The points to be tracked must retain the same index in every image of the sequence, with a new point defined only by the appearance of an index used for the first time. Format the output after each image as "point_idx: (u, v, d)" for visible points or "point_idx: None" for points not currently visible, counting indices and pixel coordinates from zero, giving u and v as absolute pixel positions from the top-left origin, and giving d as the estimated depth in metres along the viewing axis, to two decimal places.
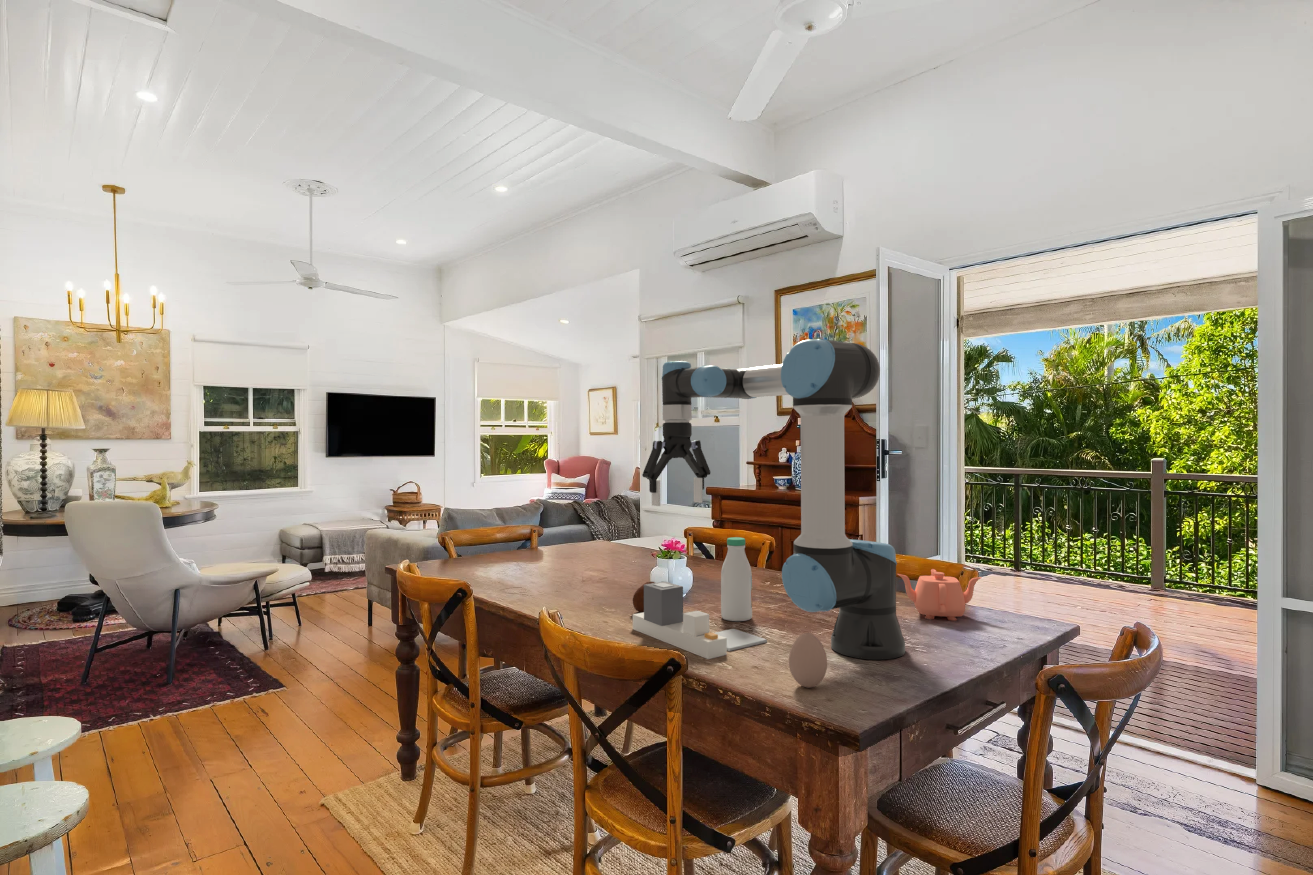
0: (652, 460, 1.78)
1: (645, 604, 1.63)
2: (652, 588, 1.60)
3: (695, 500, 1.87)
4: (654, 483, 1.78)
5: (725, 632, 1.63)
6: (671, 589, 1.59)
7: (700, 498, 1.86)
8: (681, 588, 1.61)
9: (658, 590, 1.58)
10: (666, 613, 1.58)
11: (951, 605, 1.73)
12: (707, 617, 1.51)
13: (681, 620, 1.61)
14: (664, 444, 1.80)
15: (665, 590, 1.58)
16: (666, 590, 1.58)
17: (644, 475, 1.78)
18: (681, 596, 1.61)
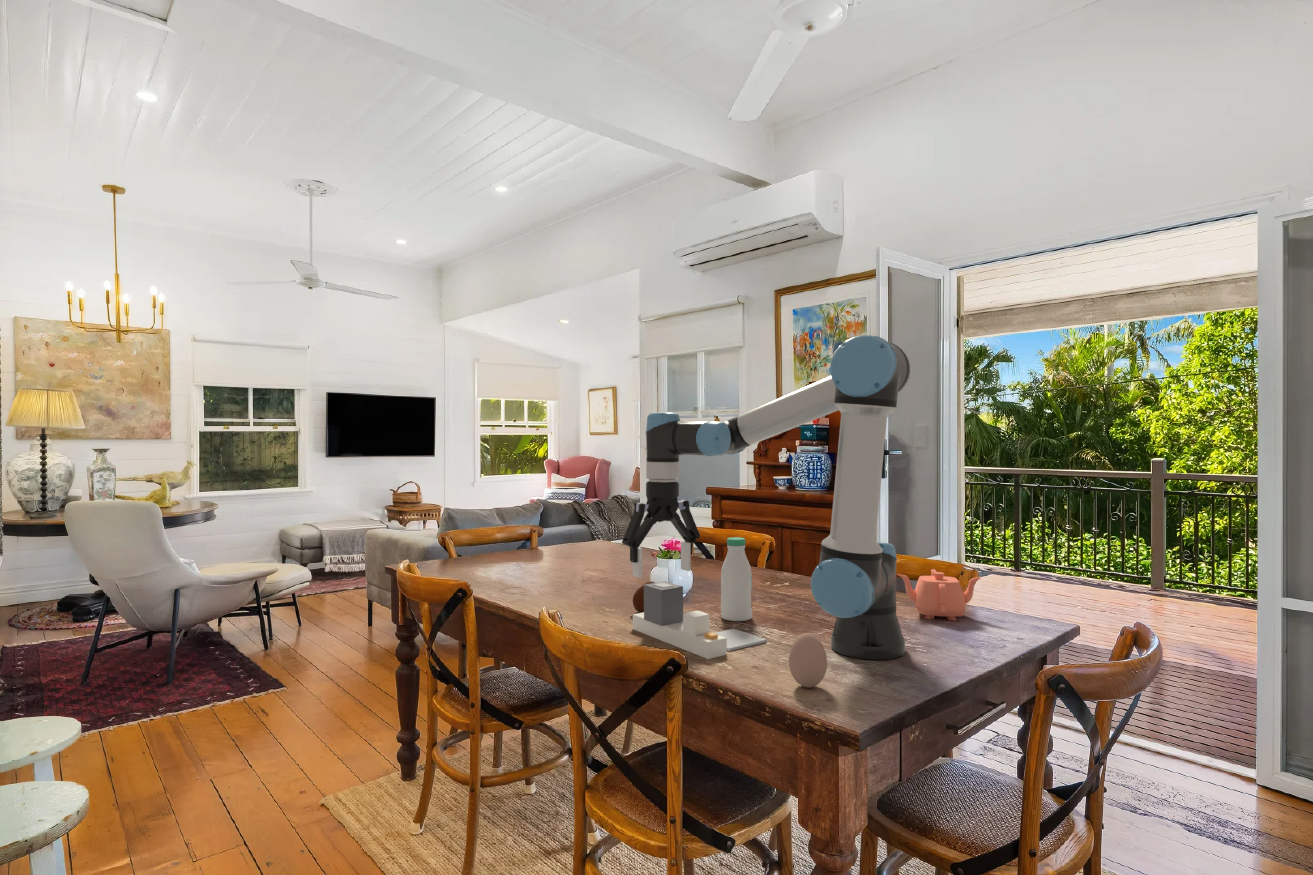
0: (633, 526, 1.57)
1: (645, 604, 1.63)
2: (652, 588, 1.60)
3: (683, 567, 1.66)
4: (635, 552, 1.57)
5: (725, 632, 1.63)
6: (671, 589, 1.59)
7: (688, 566, 1.65)
8: (681, 588, 1.61)
9: (658, 590, 1.58)
10: (666, 613, 1.58)
11: (951, 605, 1.73)
12: (707, 617, 1.51)
13: (681, 620, 1.61)
14: (647, 507, 1.59)
15: (665, 590, 1.58)
16: (666, 590, 1.58)
17: (624, 543, 1.56)
18: (681, 596, 1.61)
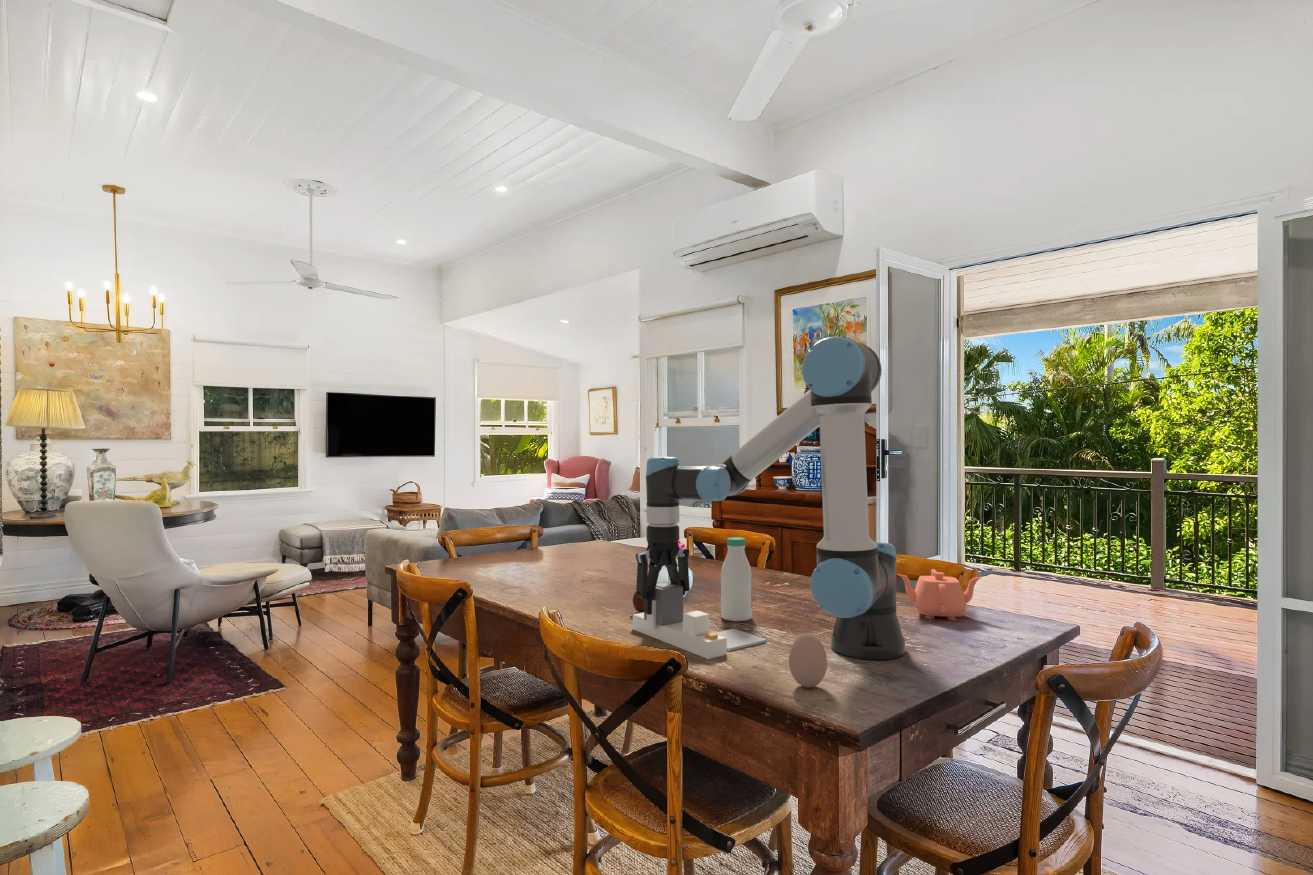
0: (641, 578, 1.58)
1: None
2: None
3: None
4: (649, 604, 1.59)
5: (725, 632, 1.63)
6: (671, 589, 1.59)
7: None
8: (681, 588, 1.61)
9: (658, 590, 1.58)
10: (666, 613, 1.58)
11: (951, 605, 1.73)
12: (707, 617, 1.51)
13: (681, 620, 1.61)
14: (648, 554, 1.59)
15: (665, 590, 1.58)
16: (666, 590, 1.58)
17: (638, 596, 1.58)
18: (681, 596, 1.61)
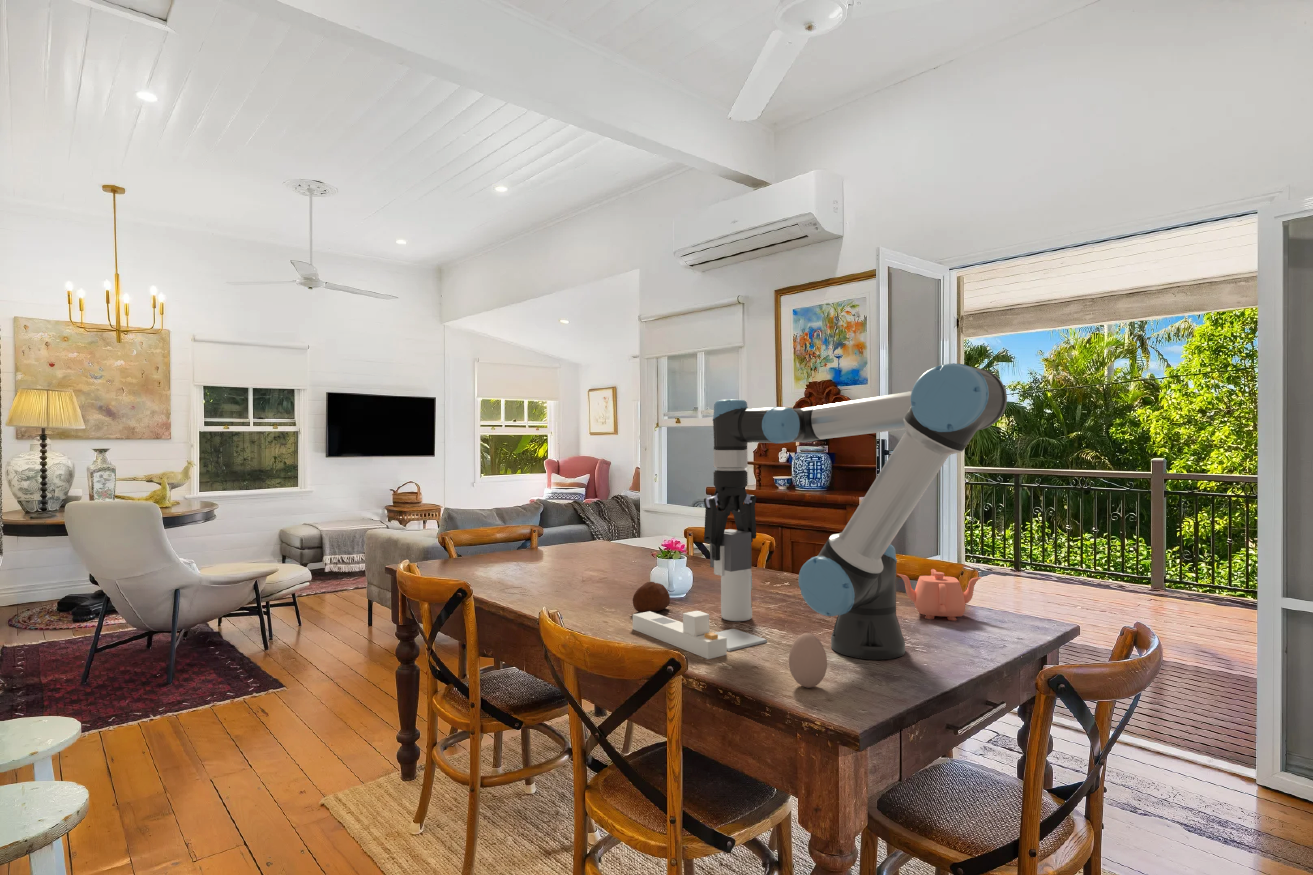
0: (710, 523, 1.54)
1: None
2: None
3: None
4: (718, 549, 1.55)
5: (725, 632, 1.63)
6: (740, 534, 1.55)
7: None
8: (749, 534, 1.57)
9: (727, 535, 1.54)
10: (735, 558, 1.54)
11: (951, 605, 1.73)
12: (707, 617, 1.51)
13: (749, 567, 1.57)
14: (717, 498, 1.55)
15: (734, 535, 1.54)
16: (735, 535, 1.54)
17: (707, 541, 1.54)
18: (749, 542, 1.57)
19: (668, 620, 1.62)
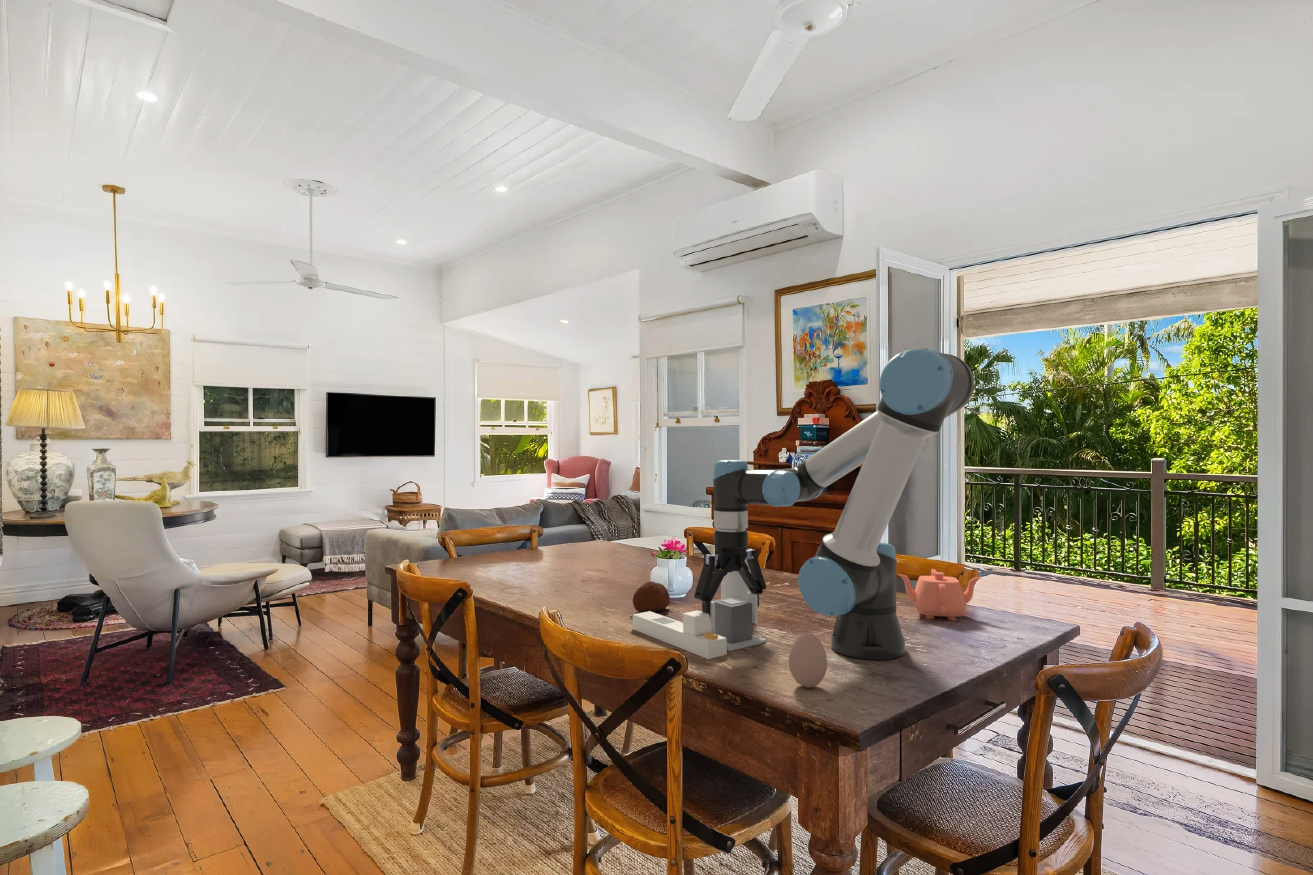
0: (705, 579, 1.53)
1: None
2: (721, 605, 1.56)
3: None
4: (708, 606, 1.53)
5: None
6: (741, 606, 1.55)
7: (755, 618, 1.60)
8: (750, 605, 1.57)
9: (728, 607, 1.54)
10: (736, 630, 1.54)
11: (951, 605, 1.73)
12: (707, 617, 1.51)
13: (750, 637, 1.57)
14: (717, 558, 1.55)
15: (735, 607, 1.54)
16: (736, 607, 1.54)
17: (696, 597, 1.53)
18: (750, 613, 1.57)
19: (668, 620, 1.62)
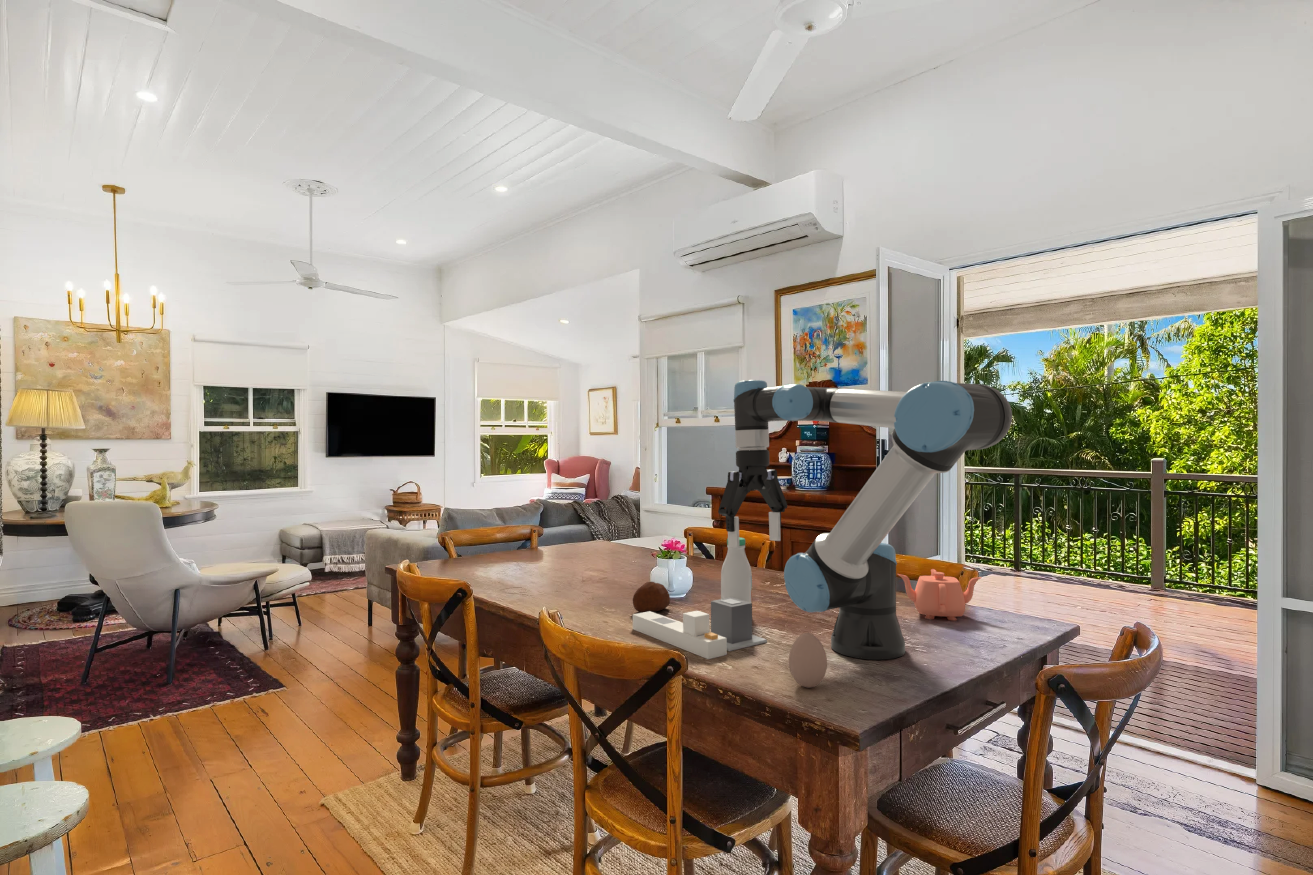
0: (729, 494, 1.54)
1: (712, 621, 1.59)
2: (721, 605, 1.56)
3: (772, 538, 1.64)
4: (732, 520, 1.55)
5: None
6: (741, 606, 1.55)
7: (778, 535, 1.63)
8: (750, 605, 1.57)
9: (728, 607, 1.54)
10: (736, 630, 1.54)
11: (951, 605, 1.73)
12: (707, 617, 1.51)
13: (750, 637, 1.57)
14: (741, 475, 1.57)
15: (735, 607, 1.54)
16: (736, 607, 1.54)
17: (721, 512, 1.54)
18: (750, 613, 1.57)
19: (668, 620, 1.62)
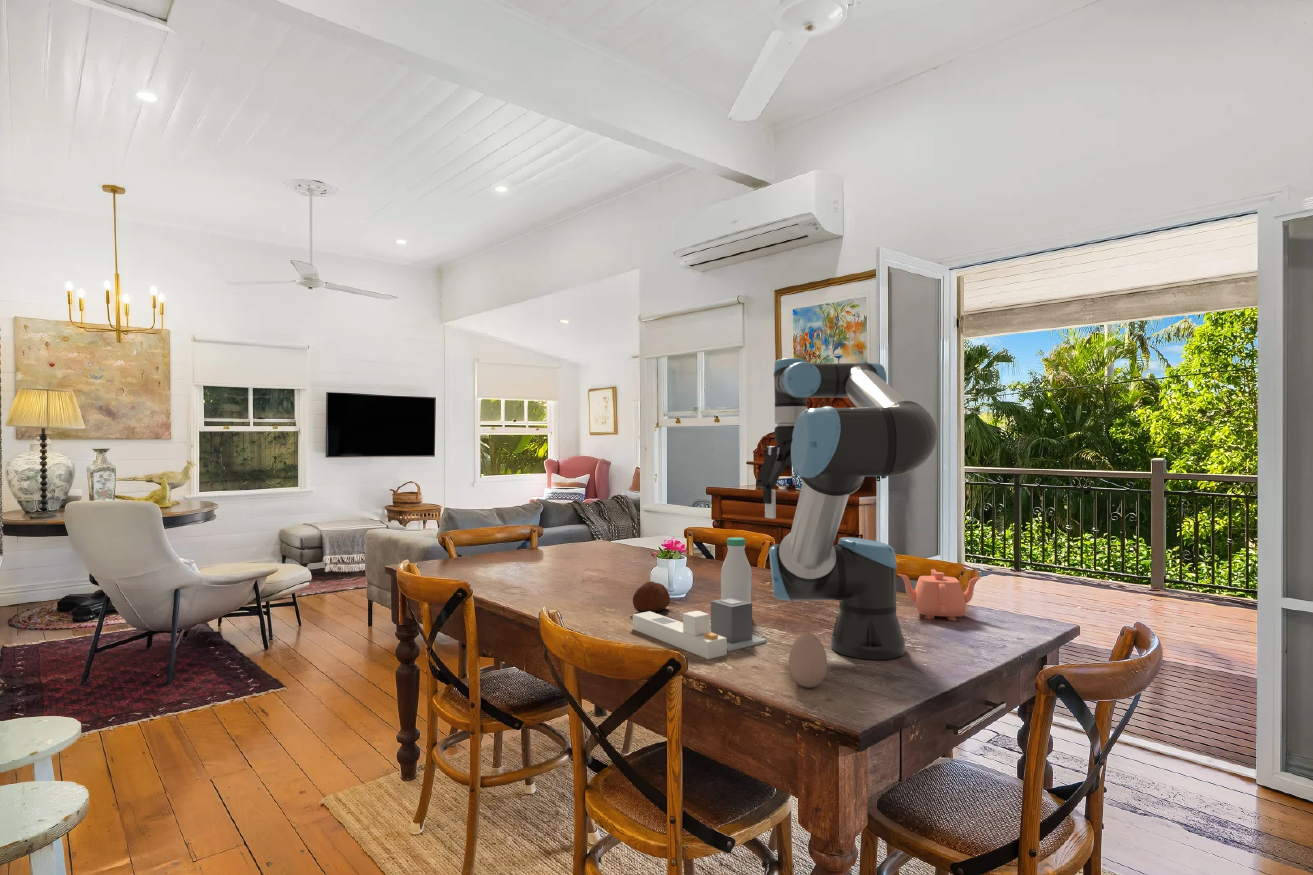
0: (767, 468, 1.61)
1: (712, 621, 1.59)
2: (721, 605, 1.56)
3: None
4: (769, 493, 1.61)
5: None
6: (741, 606, 1.55)
7: None
8: (750, 605, 1.57)
9: (728, 607, 1.54)
10: (736, 630, 1.54)
11: (951, 605, 1.73)
12: (707, 617, 1.51)
13: (750, 637, 1.57)
14: (779, 450, 1.63)
15: (735, 607, 1.54)
16: (736, 607, 1.54)
17: (758, 484, 1.61)
18: (750, 613, 1.57)
19: (668, 620, 1.62)
